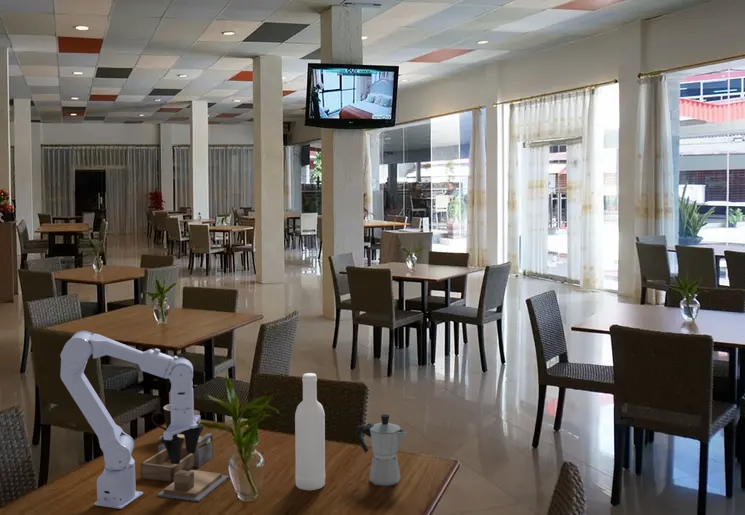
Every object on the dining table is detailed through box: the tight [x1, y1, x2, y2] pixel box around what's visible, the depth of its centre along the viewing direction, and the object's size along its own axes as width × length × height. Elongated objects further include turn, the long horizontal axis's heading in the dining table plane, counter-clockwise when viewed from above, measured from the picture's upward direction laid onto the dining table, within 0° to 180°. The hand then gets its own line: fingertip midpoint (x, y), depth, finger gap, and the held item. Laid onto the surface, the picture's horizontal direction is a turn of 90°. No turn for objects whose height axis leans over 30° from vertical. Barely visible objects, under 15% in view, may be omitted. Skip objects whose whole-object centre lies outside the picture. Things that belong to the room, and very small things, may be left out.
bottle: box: [294, 372, 326, 491], centre depth 192 cm, size 8×8×30 cm
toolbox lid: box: [162, 469, 223, 497], centre depth 192 cm, size 14×9×5 cm
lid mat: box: [157, 474, 230, 503], centre depth 192 cm, size 16×12×1 cm
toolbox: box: [140, 432, 214, 483], centre depth 206 cm, size 19×13×7 cm
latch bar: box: [177, 434, 210, 444], centre depth 212 cm, size 2×13×1 cm, turn 73°
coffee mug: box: [150, 403, 184, 435], centre depth 230 cm, size 12×9×10 cm
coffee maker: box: [354, 413, 409, 487], centre depth 197 cm, size 15×9×18 cm, turn 74°
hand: (183, 458), depth 187 cm, fingers open, 7 cm apart
